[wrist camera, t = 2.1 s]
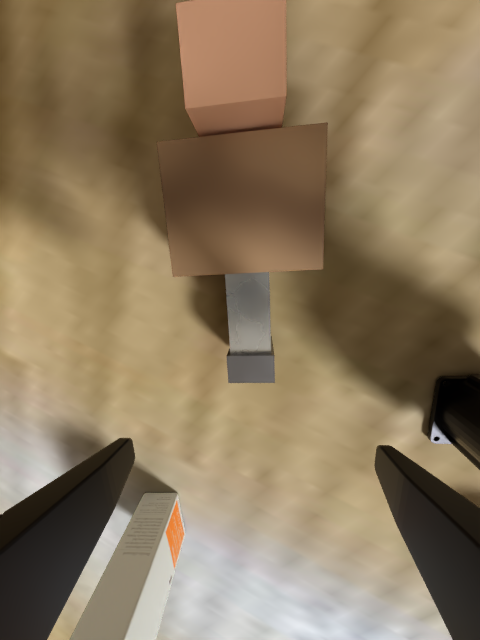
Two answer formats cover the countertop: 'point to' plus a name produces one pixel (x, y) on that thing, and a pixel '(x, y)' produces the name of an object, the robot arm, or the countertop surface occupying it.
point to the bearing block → (245, 200)
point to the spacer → (233, 64)
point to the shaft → (249, 328)
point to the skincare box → (137, 575)
